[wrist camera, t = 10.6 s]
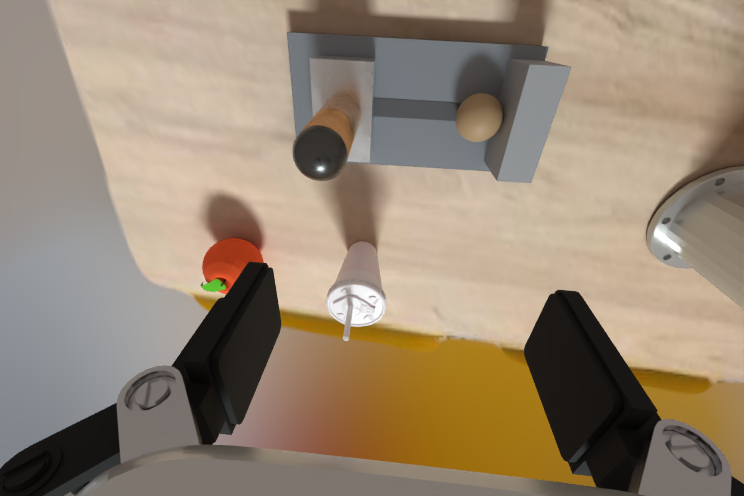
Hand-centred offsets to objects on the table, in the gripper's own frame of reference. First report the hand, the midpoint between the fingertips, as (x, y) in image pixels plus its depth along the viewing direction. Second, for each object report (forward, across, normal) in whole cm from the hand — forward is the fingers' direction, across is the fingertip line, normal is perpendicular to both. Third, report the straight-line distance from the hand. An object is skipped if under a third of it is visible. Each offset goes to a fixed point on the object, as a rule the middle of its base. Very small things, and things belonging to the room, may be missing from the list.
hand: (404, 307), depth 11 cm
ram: (+24, +6, -2) cm, 25 cm away
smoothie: (+26, +4, +16) cm, 31 cm away
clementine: (+26, +20, +17) cm, 37 cm away
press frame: (+26, 0, -2) cm, 26 cm away
